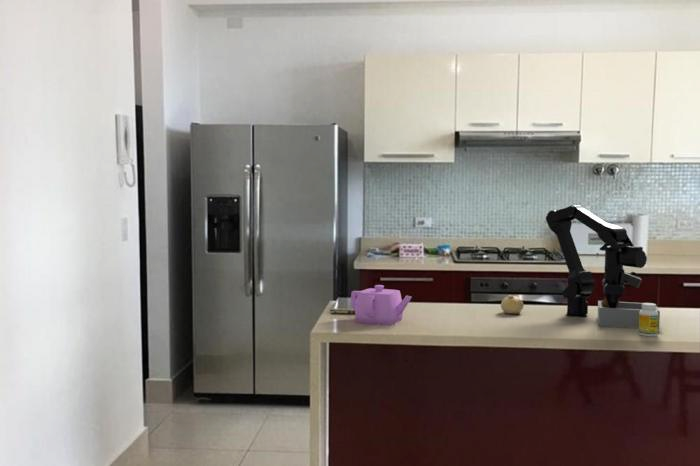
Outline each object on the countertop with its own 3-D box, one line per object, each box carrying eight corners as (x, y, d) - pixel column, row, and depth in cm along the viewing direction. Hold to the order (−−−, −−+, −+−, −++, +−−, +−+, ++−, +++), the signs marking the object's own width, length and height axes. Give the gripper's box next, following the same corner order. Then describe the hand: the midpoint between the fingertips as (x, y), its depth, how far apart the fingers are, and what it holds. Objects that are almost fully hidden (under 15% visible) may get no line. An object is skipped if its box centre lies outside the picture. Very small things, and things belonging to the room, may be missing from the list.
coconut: (619, 318, 211) (625, 295, 209) (608, 317, 209) (613, 294, 207) (608, 313, 215) (613, 291, 214) (596, 312, 213) (602, 290, 212)
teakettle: (347, 318, 220) (347, 283, 220) (391, 314, 226) (391, 280, 226) (365, 328, 205) (365, 290, 204) (412, 324, 210) (412, 287, 210)
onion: (498, 311, 232) (498, 292, 231) (519, 311, 232) (519, 292, 231) (504, 315, 224) (504, 296, 223) (526, 315, 224) (526, 295, 223)
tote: (598, 325, 206) (599, 307, 206) (597, 317, 220) (598, 300, 219) (659, 329, 200) (659, 311, 200) (654, 321, 213) (655, 303, 213)
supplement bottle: (644, 332, 197) (645, 301, 197) (661, 335, 193) (662, 304, 192) (634, 334, 194) (635, 303, 194) (651, 337, 190) (652, 306, 189)
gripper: (642, 269, 199) (641, 317, 200) (638, 262, 216) (636, 307, 217) (604, 267, 203) (603, 315, 204) (603, 261, 220) (602, 305, 221)
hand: (612, 310), depth 211 cm, fingers closed on coconut, 5 cm apart
